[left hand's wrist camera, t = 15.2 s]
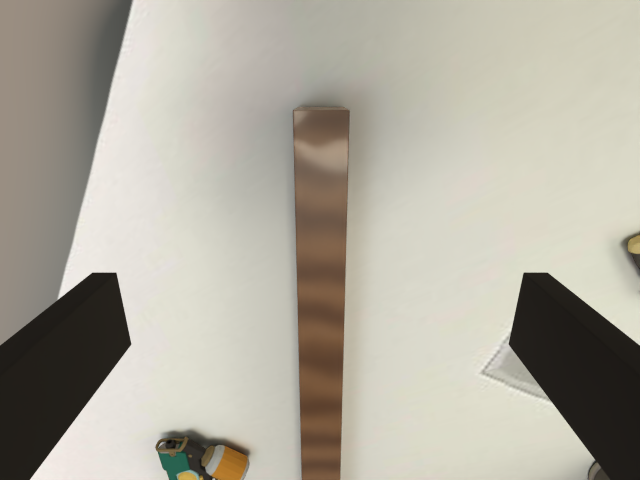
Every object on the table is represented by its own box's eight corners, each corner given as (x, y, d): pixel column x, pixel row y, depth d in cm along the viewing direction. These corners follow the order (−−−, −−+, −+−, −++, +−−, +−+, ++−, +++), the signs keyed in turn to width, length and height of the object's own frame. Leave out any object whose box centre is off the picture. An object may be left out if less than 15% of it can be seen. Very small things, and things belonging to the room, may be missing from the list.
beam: (297, 107, 41) (292, 110, 34) (344, 107, 41) (349, 110, 34) (306, 558, 68) (305, 613, 61) (334, 558, 68) (336, 613, 61)
